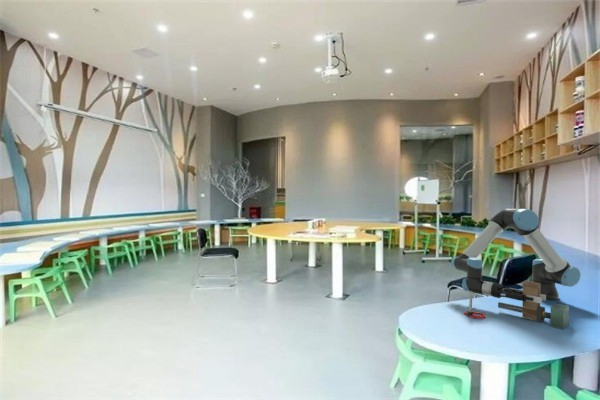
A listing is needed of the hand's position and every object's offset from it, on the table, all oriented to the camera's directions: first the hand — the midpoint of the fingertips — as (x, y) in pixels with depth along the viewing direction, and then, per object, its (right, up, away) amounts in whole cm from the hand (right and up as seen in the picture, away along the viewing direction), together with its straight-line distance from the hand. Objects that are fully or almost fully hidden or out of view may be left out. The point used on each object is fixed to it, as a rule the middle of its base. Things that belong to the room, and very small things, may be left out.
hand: (543, 299), depth 169 cm
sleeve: (-3, -11, +4) cm, 12 cm away
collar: (-1, -11, +1) cm, 11 cm away
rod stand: (-3, -11, +4) cm, 12 cm away
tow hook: (-29, -11, +8) cm, 32 cm away
